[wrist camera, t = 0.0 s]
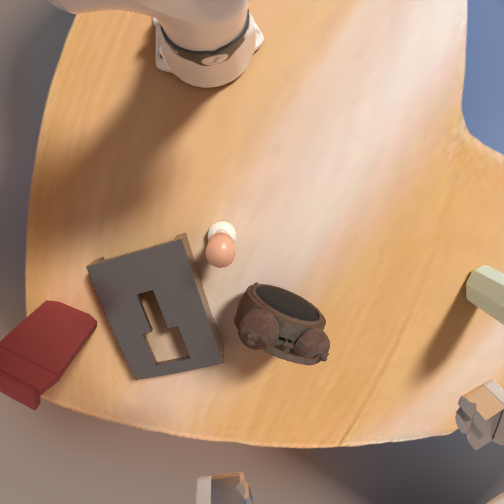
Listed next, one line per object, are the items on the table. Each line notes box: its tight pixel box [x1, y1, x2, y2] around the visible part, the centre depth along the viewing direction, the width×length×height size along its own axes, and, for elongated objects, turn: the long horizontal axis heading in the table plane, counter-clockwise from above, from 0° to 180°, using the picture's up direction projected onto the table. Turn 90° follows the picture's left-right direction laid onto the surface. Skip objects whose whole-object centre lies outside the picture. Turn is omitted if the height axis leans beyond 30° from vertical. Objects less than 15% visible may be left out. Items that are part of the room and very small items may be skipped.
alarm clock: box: [234, 283, 330, 365], centre depth 50 cm, size 14×7×20 cm, turn 68°
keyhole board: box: [87, 233, 224, 380], centre depth 57 cm, size 18×24×5 cm
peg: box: [206, 221, 236, 268], centre depth 50 cm, size 5×5×12 cm
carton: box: [0, 301, 97, 410], centre depth 46 cm, size 12×5×25 cm, turn 70°
